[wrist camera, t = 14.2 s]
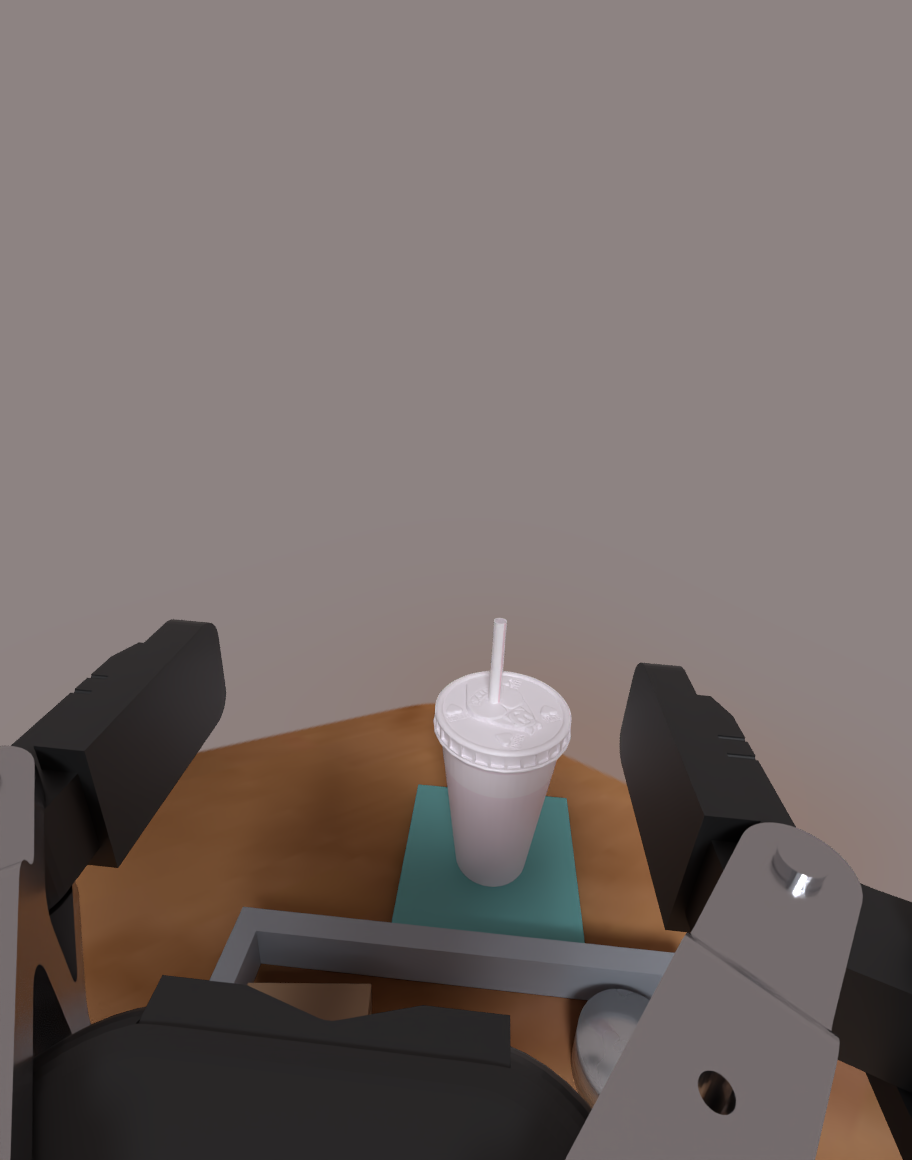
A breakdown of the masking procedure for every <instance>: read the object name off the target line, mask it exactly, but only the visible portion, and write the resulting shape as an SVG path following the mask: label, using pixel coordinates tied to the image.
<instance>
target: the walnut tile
mask: <svg viewBox="0 0 912 1160" xmlns="http://www.w3.org/2000/svg"><path fill="white" fill-rule="evenodd" d="M247 985H248V986H250V987H252V988H254V989H257V990H259V991H261V992H263V993H265V994H267V995H270V996H272V997H274V998H276V999H278V1000H281V1001H283V1002H285V1003H287V1004H289V1005H291V1006H294V1007H296V1008H298V1009H300V1010H302V1011H305V1012H307V1013H309V1014H311V1015H313V1016H316V1017H318V1018H320V1019H323V1020H329V1021H334V1020H342V1019H348V1018H353V1017H359V1016H365V1015H370V1014H372V992H371V984H335V983H248V984H247Z"/></svg>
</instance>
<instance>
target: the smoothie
mask: <svg viewBox="0 0 912 1160" xmlns="http://www.w3.org/2000/svg"><path fill="white" fill-rule="evenodd" d="M506 626H507V621H506V620H505V619H503V618H497V619H495V620H494V631H493V632H494V633H493V645H492V658H491V671H484V672H477V673H473V674H469V675H466V676H463V677H461V678H458V679H456V680H455V681H453V682H451V683H450V684H449V685H447V686H446V687H445V688H444V689H443V690H442V691H441V693H440V694H439V696H438V698H437V701H436V705H435V717H434V730H435V734H436V736H437V738H438V740H439V742H440V743H441V745H442V746H443V756H444V762H445V771H446V779H447V787H448V796H449V804H450V812H451V821H452V829H453V837H454V846H455V854H456V861H457V864H458V866H459V868H460V870H461V871H462V873H463V874H464V875H465V876H466V877H467V878H469V879H470V880H472V881H473V882H475V883H477V884H480V885H483V886H489V887H497V886H503V885H506V884H509V883H510V882H512V881H514V880H515V879H516V878H517V877H518V876H519V875H520V874H521V872H522V870H523V868H524V865H525V861H526V858H527V855H528V852H529V848H530V845H531V842H532V839H533V835H534V832H535V829H536V826H537V822H538V819H539V816H540V812H541V809H542V806H543V803H544V799H545V796H546V793H547V790H548V786H549V783H550V780H551V777H552V774H553V771H554V768H555V764H556V761H557V759H558V758H559V757H560V756H561V755H562V754H563V753H564V752H565V751H566V749H567V746H568V743H569V741H570V738H571V737H570V726H571V712H570V709H569V707H568V705H567V703H566V702H565V700H564V699H563V697H562V696H561V695H560V694H559V693H558V692H556V691H555V690H554V689H553V688H551V687H550V686H548V685H547V684H545V683H544V682H541V681H539V680H537V679H535V678H532V677H529V676H526V675H524V674H519V673H514V672H507V671H503V662H504V649H505V638H506Z"/></svg>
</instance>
